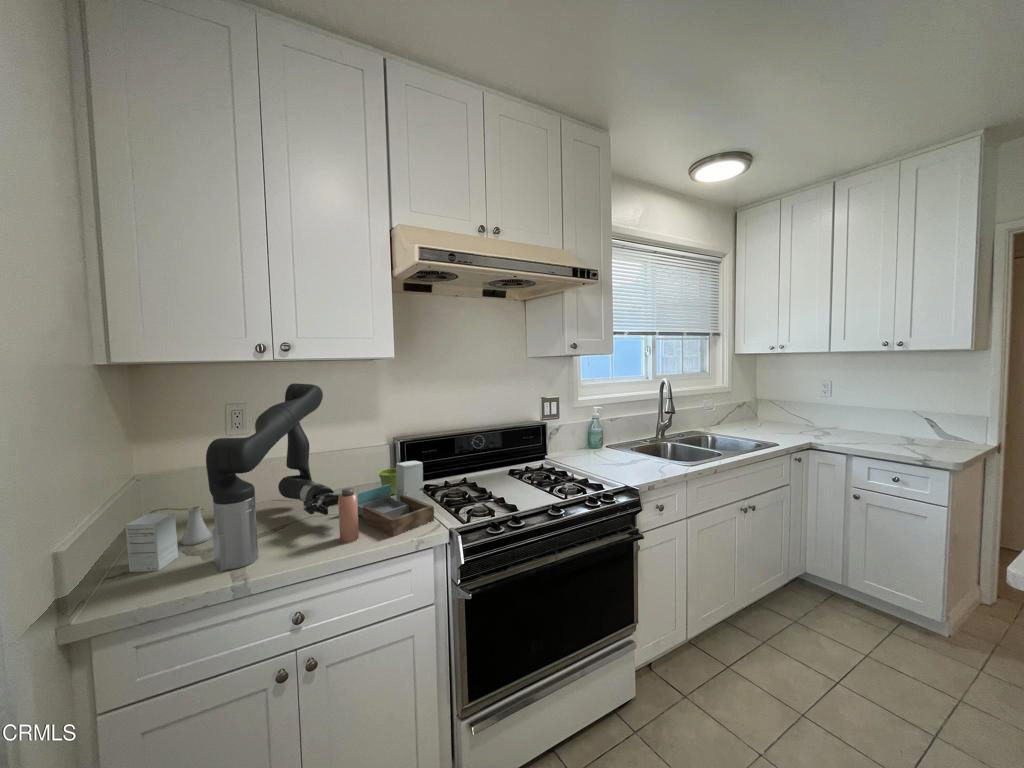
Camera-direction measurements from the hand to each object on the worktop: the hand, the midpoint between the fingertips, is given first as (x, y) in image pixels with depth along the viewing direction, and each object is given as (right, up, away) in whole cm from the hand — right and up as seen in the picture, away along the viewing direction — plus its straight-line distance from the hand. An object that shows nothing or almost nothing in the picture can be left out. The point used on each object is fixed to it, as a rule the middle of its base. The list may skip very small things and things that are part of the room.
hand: (340, 507), depth 127 cm
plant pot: (+4, -6, +38) cm, 39 cm away
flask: (-42, -9, -2) cm, 43 cm away
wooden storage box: (+15, -8, +10) cm, 20 cm away
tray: (+7, -7, +17) cm, 20 cm away
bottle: (+3, -9, -2) cm, 10 cm away
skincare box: (+14, -7, +28) cm, 32 cm away
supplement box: (-42, -10, -17) cm, 47 cm away
